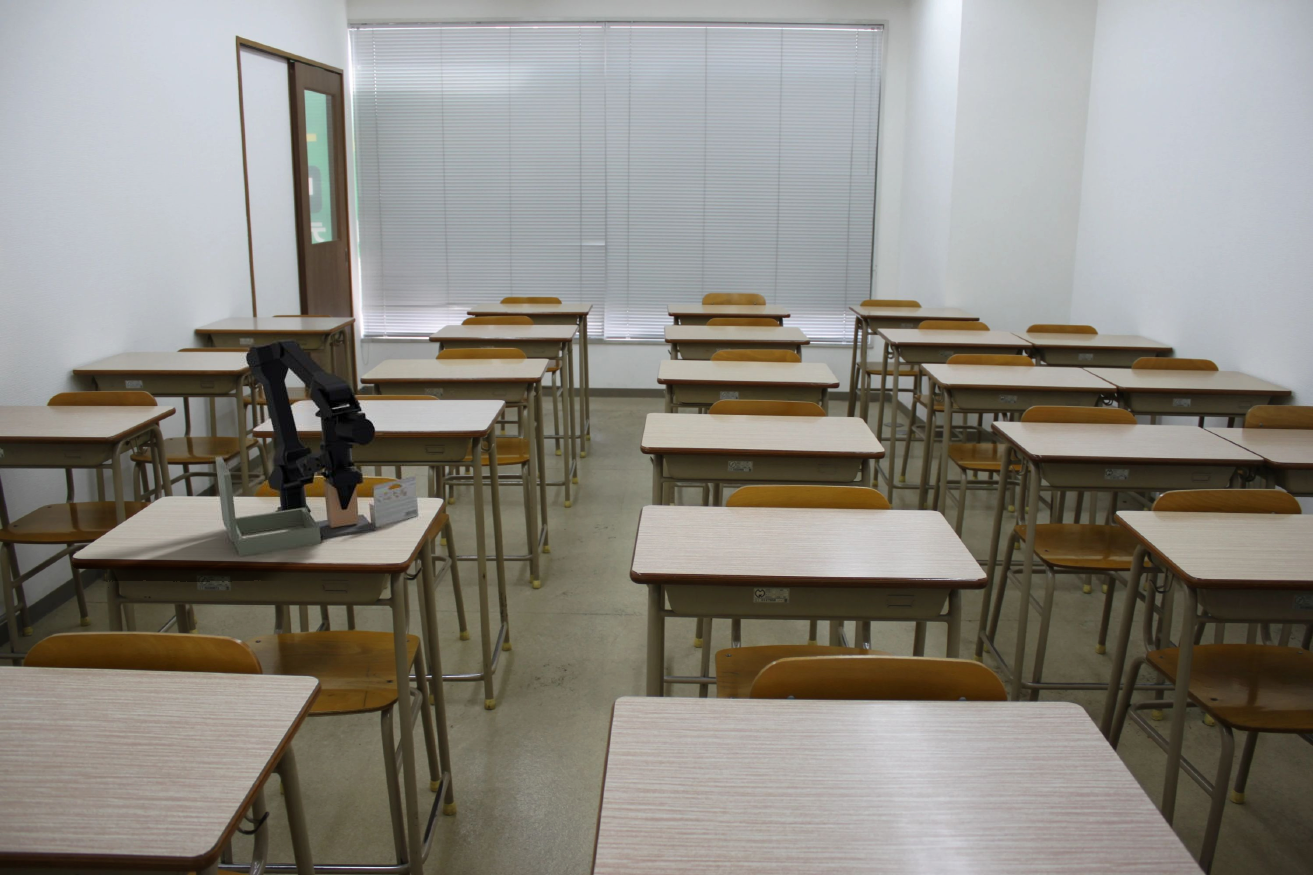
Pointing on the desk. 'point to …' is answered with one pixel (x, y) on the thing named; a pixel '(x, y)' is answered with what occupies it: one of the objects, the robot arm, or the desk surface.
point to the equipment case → (263, 523)
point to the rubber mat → (345, 528)
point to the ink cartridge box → (394, 502)
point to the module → (339, 508)
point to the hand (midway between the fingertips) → (342, 506)
